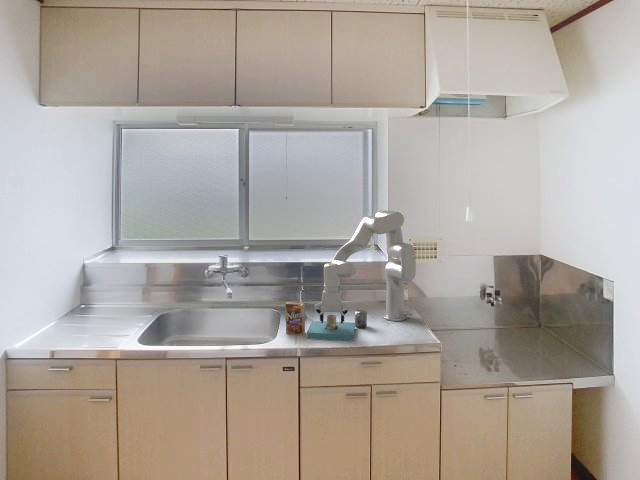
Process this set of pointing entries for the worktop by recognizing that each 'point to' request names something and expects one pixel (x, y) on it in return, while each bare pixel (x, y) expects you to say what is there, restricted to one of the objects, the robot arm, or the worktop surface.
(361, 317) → the round bit
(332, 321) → the square bit
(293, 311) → the candy box
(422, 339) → the worktop surface
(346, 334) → the socket block
